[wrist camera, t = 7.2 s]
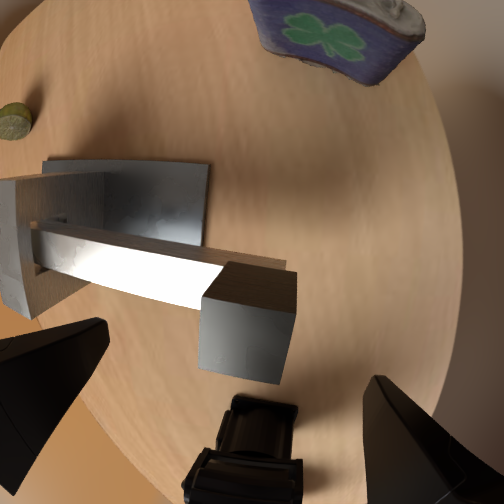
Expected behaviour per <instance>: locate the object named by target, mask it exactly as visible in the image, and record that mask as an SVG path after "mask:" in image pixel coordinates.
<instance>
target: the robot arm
mask: <svg viewBox="0 0 504 504" xmlns="http://www.w3.org/2000/svg"><path fill="white" fill-rule="evenodd" d="M109 343H110V336H109V329H108V323H107V321H106V320H104V319H101V318H99V317H94V318H90V319H86V320H82V321H78V322H74V323H70V324H66V325H62V326H58V327H53V328H49V329H45V330H41V331H37V332H32V333H28V334H23V335H19V336H15V337H10V338H5V339H1V340H0V485H1V486H2V487H3V488H4V489H5V490H7V491H8V492H9V493H10V494H11V495H12V496H14V495H15V494H16V492H17V491H18V489H19V487H20V485H21V483H22V482H23V480H24V478H25V476H26V475H27V473H28V471H29V470H30V468H31V466H32V465H33V463H34V461H35V460H36V458H37V456H38V455H39V453H40V451H41V450H42V448H43V447H44V445H45V444H46V442H47V440H48V439H49V437H50V436H51V434H52V433H53V431H54V430H55V428H56V426H57V425H58V424H59V422H60V420H61V419H62V417H63V416H64V415H65V413H66V412H67V410H68V409H69V407H70V406H71V404H72V403H73V401H74V400H75V399H76V397H77V396H78V394H79V393H80V391H81V390H82V389H83V387H84V386H85V384H86V383H87V382H88V380H89V379H90V377H91V376H92V374H93V372H94V371H95V369H96V367H97V365H98V363H99V362H100V360H101V358H102V356H103V355H104V353H105V351H106V350H107V348H108V346H109ZM236 400H238V401H236ZM297 414H298V407H297V406H295V405H288V404H281V403H275V402H268V401H262V400H257V399H251V398H246V397H241V396H234V397H233V399H232V403H231V411H230V410H227V411H225V414H224V417H223V420H222V423H221V426H220V429H219V432H218V435H217V438H216V448H215V450H212V449H211V448H206V447H204V449H203V451H202V452H201V453H200V454H199V456H198V457H197V459H196V461H195V463H194V464H193V466H192V468H191V470H190V471H189V473H188V475H187V476H186V478H185V479H184V480H183V481H182V484H181V487H182V488H183V490H184V502H185V504H302V499H303V459H296V460H294V459H291V453H292V441H293V427H294V422H295V420H296V417H297ZM363 446H364V456H365V468H366V482H367V501H368V504H504V476H503V475H501V474H500V473H499V472H497V471H496V470H494V469H493V468H492V467H490V466H489V465H487V464H486V463H485V462H483V461H482V460H480V459H479V458H478V457H476V456H475V455H474V454H473V453H471V452H470V451H469V450H467V449H466V448H465V447H464V446H463V445H462V444H460V443H459V442H458V441H457V440H456V439H455V438H454V437H453V436H450V434H449V433H448V432H447V431H446V430H445V429H444V428H443V427H441V426H440V425H439V424H438V423H437V422H436V421H435V420H433V418H432V417H430V416H429V415H428V414H427V413H426V412H425V411H424V410H423V409H422V408H421V407H419V406H418V405H417V404H416V403H415V402H414V401H413V400H412V399H411V398H409V397H408V396H407V395H406V394H405V393H404V392H403V391H402V390H401V389H400V388H398V387H397V386H396V385H395V384H394V383H393V382H392V381H391V380H390V379H389V378H387V377H386V376H384V375H374V376H372V378H371V380H370V382H369V384H368V386H367V388H366V390H365V392H364V395H363Z"/></svg>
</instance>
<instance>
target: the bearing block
mask: <svg viewBox="0 0 504 504" xmlns="http://www.w3.org/2000/svg"><path fill="white" fill-rule="evenodd" d="M210 167H211V165H208V164H196V163H182V162H166V161H145V160H56V161H43V163H42V174H34V175H26V176H18V177H10V178H3V179H0V292H1V297H2V301H3V304H4V305H6V306H8V307H9V308H11V309H13V310H14V311H16V312H18V313H19V314H21V315H23V316H25V317H27V318H28V319H30V320H32V319H34V318H35V317H37V316H38V315H40V314H41V313H43V312H45V311H46V310H48V309H49V308H51V307H52V306H54V305H56V304H57V303H59V302H60V301H62V300H63V299H65V298H67V297H68V296H70V295H71V294H73V293H75V292H76V291H78V290H80V289H81V288H83V287H85V286H86V285H88V284H89V283H91V281H87V280H84V279H81V278H78V277H74V276H71V275H68V274H65V273H62V272H59V271H56V270H53V269H50V268H47V267H44V266H41V265H38V264H35V263H34V261H33V252H32V241H31V227H30V222H33V221H37V220H40V219H44V220H50V221H56V222H62V223H67V224H73V225H79V226H85V227H91V228H97V229H102V230H108V231H114V232H120V233H126V234H132V235H138V236H144V237H150V238H155V239H161V240H167V241H173V242H179V243H185V244H191V245H197V246H203V237H204V226H205V215H206V204H207V194H208V185H209V176H210Z"/></svg>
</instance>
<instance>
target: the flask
mask: <svg viewBox="0 0 504 504" xmlns="http://www.w3.org/2000/svg"><path fill="white" fill-rule="evenodd" d="M248 2H249V4H250V8H251V11H252V13H253V18H254V21H255V24H256V26H257V30H258V34H259V38H260V42H261V44H262V46H263V47H264V49H265V50H267V51H269V52H271V53H273V54H276V55H278V56H280V57H283V58H285V56H288V57H292V58H295V59H298V60H299V61H302V62H303V63H306V64H309V65H310V66H315V67H327V68H330V69H332V71H333V73H341V74H344V75H345V76H347V77H348V78H349V79H351V80H353V81H356V82H357V83H359V84H362V85H363V86H365V87H370V86H374V85H379V83H380V82H381V81H382V80H384V79H385V78H386V77H387V76H388V74H389V73H390V72H391V71H392V70H394V69H395V68H396V66H397V65H398V64H399V63H400V62H401V61H402V60H403V59H405V57H406V56H407V55H408V54H409V53H411V51H413V50H414V49H415V48H416V46H417V45H418V44H420V43H421V42H422V41H424V39H425V32H426V29H425V26H426V25H425V22H424V19H423V18H422V15H421V14H420V13H419V12H418V11H417V10H416V9H415V8H414V7H412V6H411V5H409V4H408V3H406V2H405V1H403V0H248Z"/></svg>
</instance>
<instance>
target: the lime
mask: <svg viewBox="0 0 504 504" xmlns="http://www.w3.org/2000/svg"><path fill="white" fill-rule="evenodd" d="M31 123H32V116H31V112H30V110H29V108H28V107H27V106H26V105H25V104H23V103H19V102H15V103H10V104H7V105H5V106H4V107H3V108H2V109H0V139H4V140H9V141H12V140H18V139H22V138H24V137H25V136H26V135H27V134H28V133H29V132H30V128H31Z"/></svg>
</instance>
